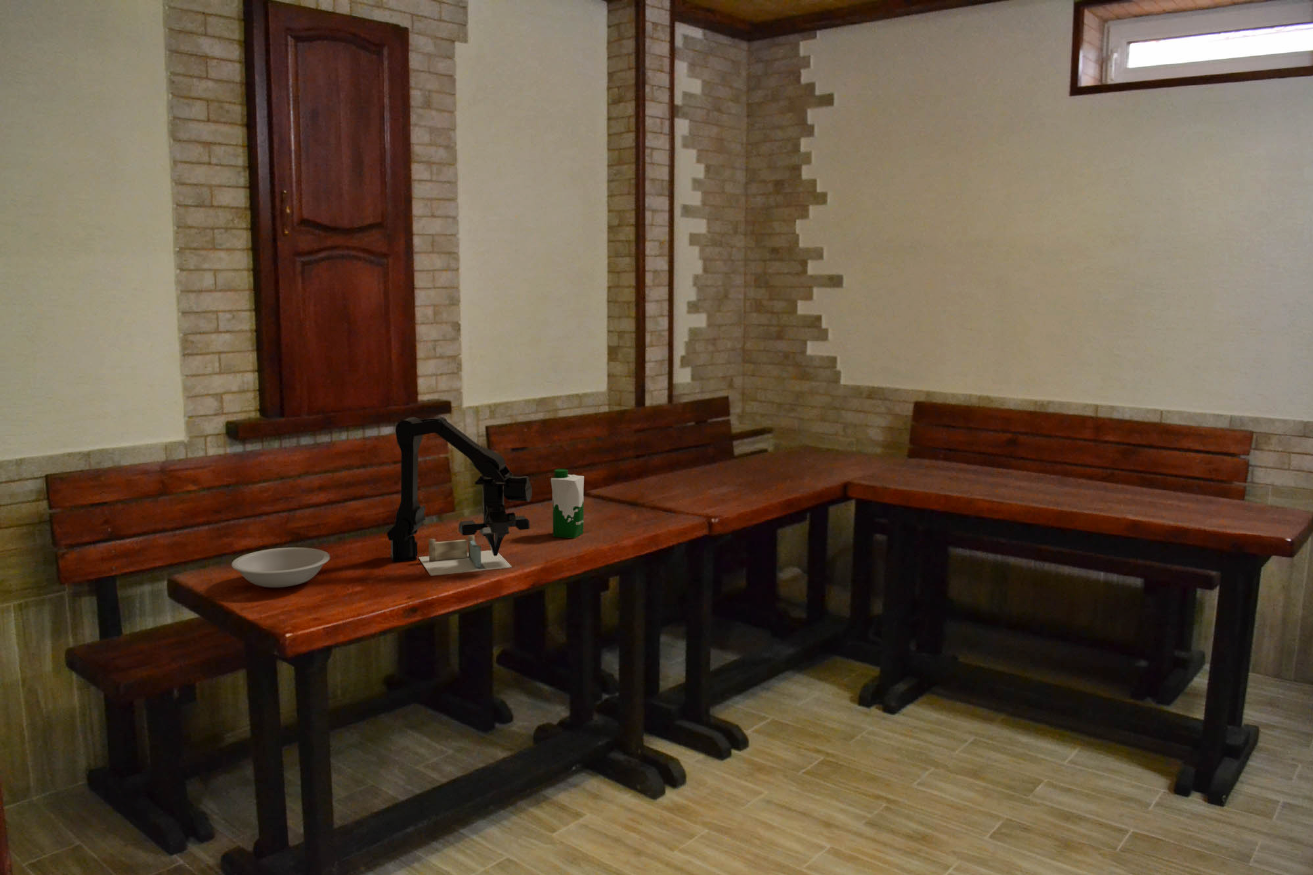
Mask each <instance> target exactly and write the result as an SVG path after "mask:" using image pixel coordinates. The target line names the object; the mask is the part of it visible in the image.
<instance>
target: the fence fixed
mask: <svg viewBox="0 0 1313 875" xmlns="http://www.w3.org/2000/svg"><path fill="white" fill-rule="evenodd" d="M475 540H476V539H475V534H474V535H467V539H457V540H447V541H436V539H435V538H429V539H428V556H429V561H437V560H447V559H457V558H468V554H469V557H470V541H475ZM475 542H476V541H475Z"/></svg>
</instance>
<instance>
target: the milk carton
mask: <svg viewBox="0 0 1313 875" xmlns="http://www.w3.org/2000/svg"><path fill="white" fill-rule="evenodd" d="M550 483H551V484H550V485H551V489H552V490H551V491H552V493H551V494H552V537H553V538H562V539H563V538H565V539H576V538H578V537H579V536H581V535H583V534H584V527H585V526H584V523H585V522H584V521H585V520H584V519H585V518H584V512H585V511H584V507H585V506H584V486H585V484H584V483H585V476H584V475H577V474H569V470H568V469H566V468H557V469H554V476H553V477H551V478H550Z"/></svg>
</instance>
